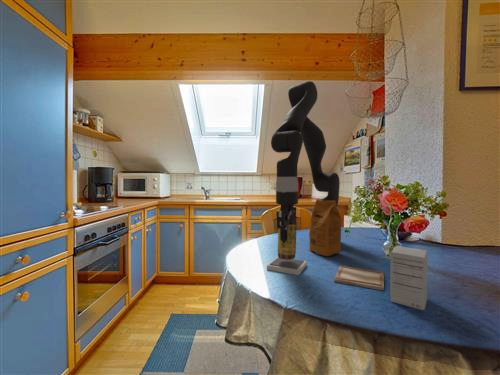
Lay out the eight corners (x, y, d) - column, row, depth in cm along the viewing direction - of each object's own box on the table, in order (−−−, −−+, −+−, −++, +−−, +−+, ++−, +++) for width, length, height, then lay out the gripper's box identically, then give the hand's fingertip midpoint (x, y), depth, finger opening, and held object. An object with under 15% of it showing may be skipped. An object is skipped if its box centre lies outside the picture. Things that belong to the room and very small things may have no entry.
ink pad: (277, 261, 95) (277, 256, 95) (306, 265, 90) (306, 260, 90) (266, 269, 86) (266, 264, 86) (298, 275, 81) (298, 269, 81)
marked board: (340, 268, 87) (340, 265, 87) (383, 274, 81) (383, 271, 81) (334, 281, 75) (334, 278, 75) (383, 290, 70) (383, 286, 70)
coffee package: (323, 247, 113) (323, 198, 112) (344, 254, 102) (345, 200, 101) (305, 250, 109) (305, 198, 108) (325, 258, 98) (325, 201, 97)
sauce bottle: (281, 261, 84) (281, 201, 83) (274, 255, 90) (274, 199, 89) (299, 259, 86) (299, 200, 85) (291, 254, 92) (291, 199, 91)
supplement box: (394, 291, 69) (395, 245, 69) (427, 299, 64) (428, 249, 64) (388, 301, 63) (389, 251, 63) (424, 311, 59) (425, 257, 58)
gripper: (283, 189, 95) (283, 233, 96) (268, 191, 82) (268, 242, 83) (303, 189, 92) (303, 235, 92) (290, 191, 79) (290, 244, 80)
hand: (287, 238), depth 88 cm, fingers closed on sauce bottle, 6 cm apart
